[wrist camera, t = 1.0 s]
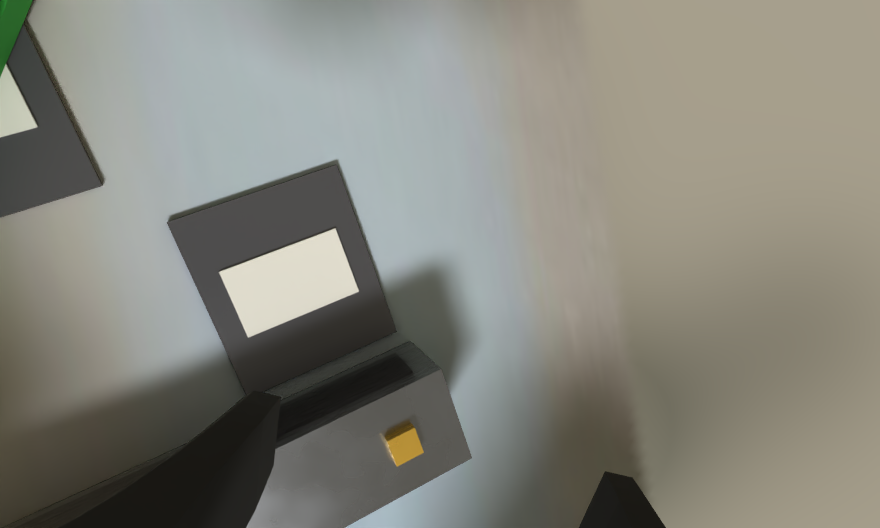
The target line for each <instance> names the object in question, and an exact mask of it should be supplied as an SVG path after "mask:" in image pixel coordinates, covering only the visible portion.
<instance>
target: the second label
mask: <svg viewBox="0 0 880 528" xmlns="http://www.w3.org/2000/svg"><path fill="white" fill-rule="evenodd" d="M100 186H103V185H102V183H101V181H100V179H99V177H98V175H97V173H96V171H95V169H94V167H93V165H92V163H91V161H90V159H89V156H88V154H87V152H86V150H85V148H84V146H83V144H82V142H81V140H80V138H79V136H78V134H77V132H76V130H75V128H74V126H73V124H72V121H71V119H70V117H69V115H68V113H67V111H66V109H65V107H64V105H63V103H62V101H61V99H60V97H59V95H58V93H57V91H56V89H55V86H54V84H53V82H52V80H51V78H50V76H49V74H48V72H47V70H46V68H45V66H44V64H43V62H42V60H41V58H40V56H39V53H38V51H37V49H36V47H35V45H34V43H33V41H32V39H31V37H30V35H29V33H28V31H27V29H26V27H25V25H24V23H23V25H22V27H21V29H20V32H19V34H18V37H17V39H16V41H15V44H14V46H13V48H12V51H11V53H10V55H9V58H8V60H7V62H6V65H5V67H4V70H3V72H2V74H1V77H0V217H4V216H7V215H10V214H13V213H16V212H20V211H23V210H26V209H29V208H32V207H36V206H39V205H42V204H45V203H49V202H52V201H55V200H58V199H61V198H65V197H68V196H71V195H74V194H78V193H81V192H84V191H87V190H90V189H94V188H97V187H100Z"/></svg>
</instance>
